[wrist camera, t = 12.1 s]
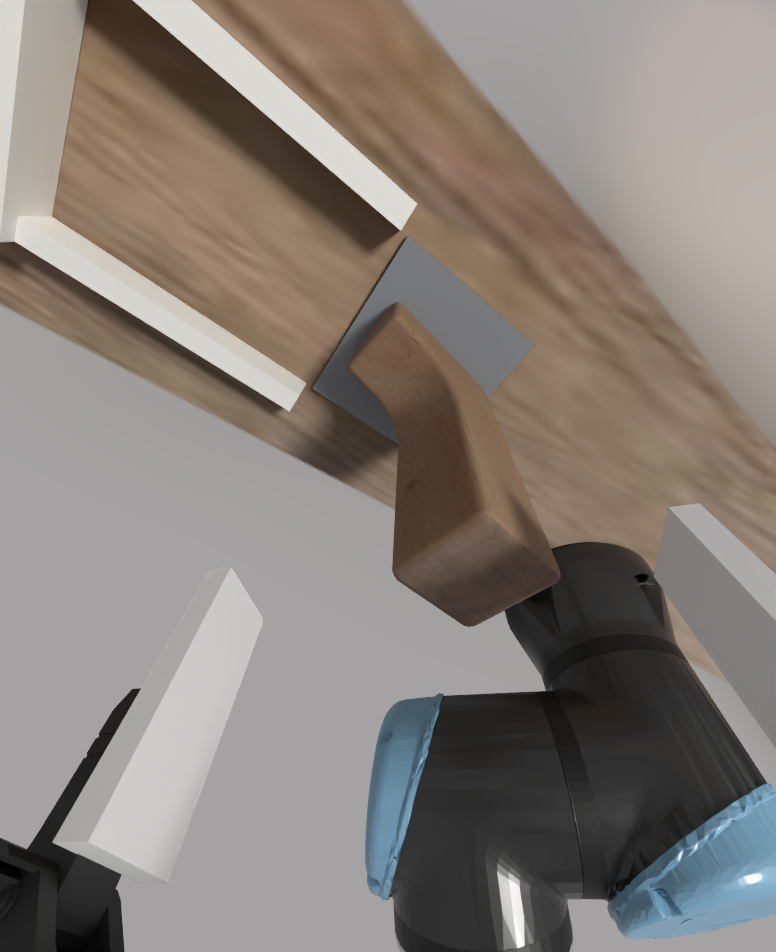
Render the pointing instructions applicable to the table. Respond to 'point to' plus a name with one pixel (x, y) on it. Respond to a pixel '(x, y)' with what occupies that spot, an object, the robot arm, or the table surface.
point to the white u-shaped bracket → (41, 147)
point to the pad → (443, 314)
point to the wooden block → (451, 479)
